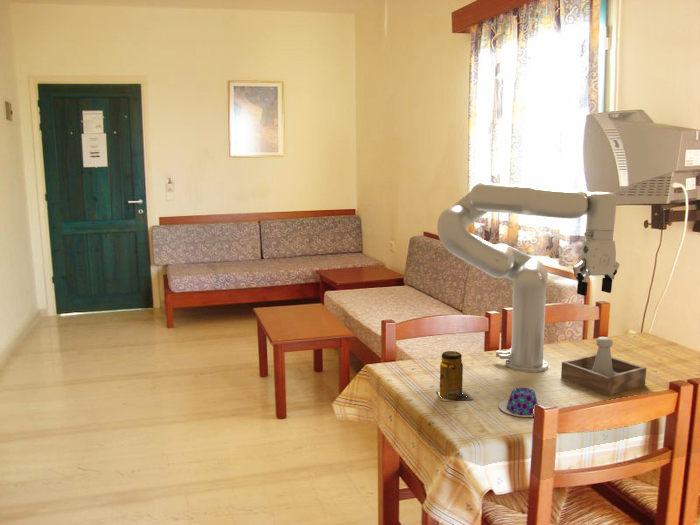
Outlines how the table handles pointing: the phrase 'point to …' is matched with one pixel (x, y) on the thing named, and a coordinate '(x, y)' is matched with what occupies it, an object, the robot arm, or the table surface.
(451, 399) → the condiment
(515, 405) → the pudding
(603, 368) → the salt shaker
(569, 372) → the bore box
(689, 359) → the table surface
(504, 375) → the table surface
